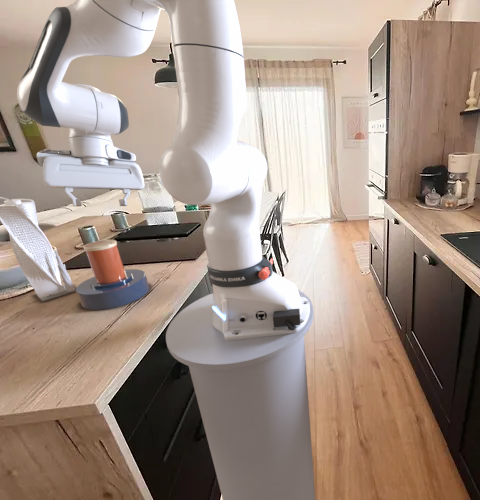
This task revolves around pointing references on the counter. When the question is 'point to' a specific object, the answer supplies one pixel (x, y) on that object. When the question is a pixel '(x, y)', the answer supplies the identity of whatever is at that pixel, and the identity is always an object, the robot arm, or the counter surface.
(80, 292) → the blue round puck
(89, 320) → the counter surface
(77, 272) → the counter surface
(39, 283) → the skyscraper
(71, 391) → the counter surface
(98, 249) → the terracotta cup
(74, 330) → the counter surface
